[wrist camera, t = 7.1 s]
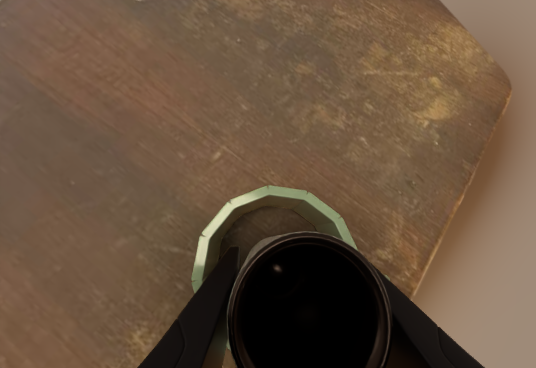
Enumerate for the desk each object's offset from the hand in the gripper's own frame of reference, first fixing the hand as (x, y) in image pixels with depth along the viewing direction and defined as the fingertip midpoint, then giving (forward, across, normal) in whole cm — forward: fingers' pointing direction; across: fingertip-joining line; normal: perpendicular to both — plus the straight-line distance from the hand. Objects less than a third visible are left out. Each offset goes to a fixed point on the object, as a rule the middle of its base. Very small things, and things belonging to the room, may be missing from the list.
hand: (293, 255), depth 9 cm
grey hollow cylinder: (+4, 0, +6) cm, 7 cm away
